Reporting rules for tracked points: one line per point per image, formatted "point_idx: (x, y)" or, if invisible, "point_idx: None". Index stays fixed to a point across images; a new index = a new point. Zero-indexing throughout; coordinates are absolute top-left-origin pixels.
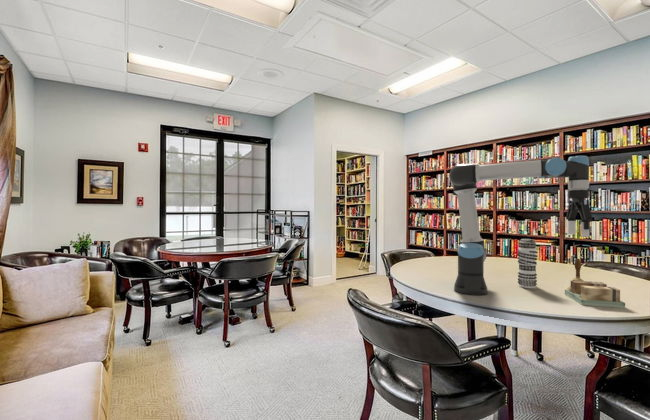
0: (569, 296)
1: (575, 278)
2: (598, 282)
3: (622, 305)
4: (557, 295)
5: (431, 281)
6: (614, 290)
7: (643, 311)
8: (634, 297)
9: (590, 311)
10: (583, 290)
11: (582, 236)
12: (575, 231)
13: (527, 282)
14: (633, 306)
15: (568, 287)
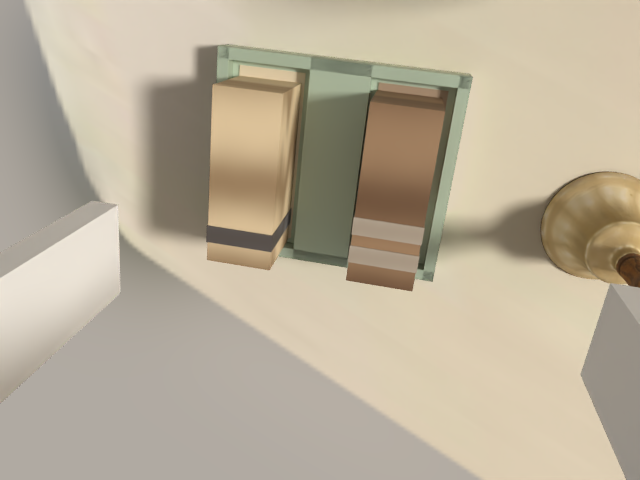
0: (395, 65)
1: (625, 240)
2: (395, 265)
3: None
4: (430, 4)
5: None
6: (208, 232)
7: (187, 279)
8: (443, 415)
9: (108, 20)
10: (249, 85)
11: (88, 208)
12: (597, 410)
13: None
14: (263, 294)
15: (629, 183)
